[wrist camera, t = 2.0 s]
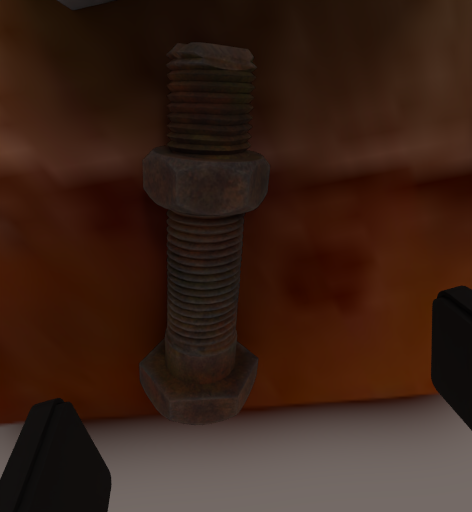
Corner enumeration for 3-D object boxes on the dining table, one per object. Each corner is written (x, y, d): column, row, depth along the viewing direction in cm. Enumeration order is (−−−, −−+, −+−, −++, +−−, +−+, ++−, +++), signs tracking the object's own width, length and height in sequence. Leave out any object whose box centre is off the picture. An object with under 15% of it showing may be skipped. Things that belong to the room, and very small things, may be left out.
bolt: (221, 57, 17) (207, 339, 23) (109, 41, 14) (127, 371, 20) (324, 54, 13) (275, 399, 18) (198, 29, 10) (187, 451, 15)
